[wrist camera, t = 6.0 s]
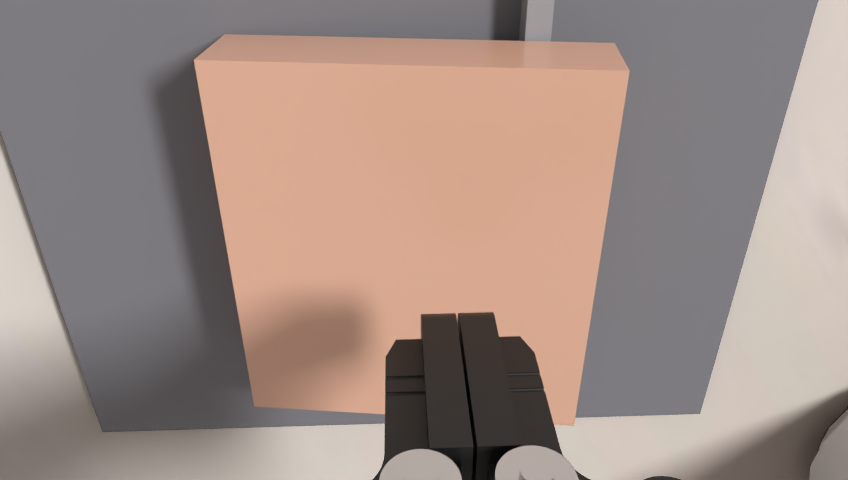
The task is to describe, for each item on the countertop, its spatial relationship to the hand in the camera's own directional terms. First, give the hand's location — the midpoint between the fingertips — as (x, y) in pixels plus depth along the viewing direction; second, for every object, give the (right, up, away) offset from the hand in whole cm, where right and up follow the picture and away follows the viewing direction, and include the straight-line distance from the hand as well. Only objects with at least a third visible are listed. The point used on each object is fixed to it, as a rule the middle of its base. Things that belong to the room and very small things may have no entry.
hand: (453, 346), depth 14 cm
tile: (+4, +2, +3) cm, 5 cm away
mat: (-1, +3, +5) cm, 6 cm away
